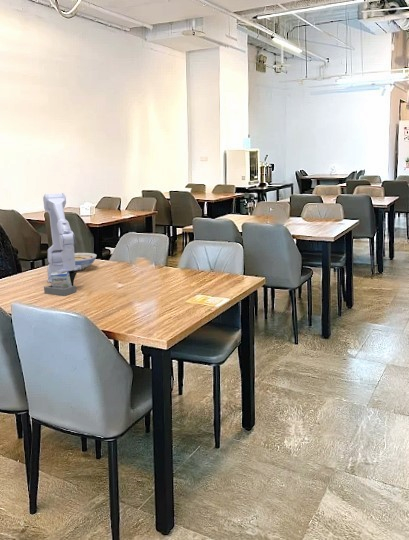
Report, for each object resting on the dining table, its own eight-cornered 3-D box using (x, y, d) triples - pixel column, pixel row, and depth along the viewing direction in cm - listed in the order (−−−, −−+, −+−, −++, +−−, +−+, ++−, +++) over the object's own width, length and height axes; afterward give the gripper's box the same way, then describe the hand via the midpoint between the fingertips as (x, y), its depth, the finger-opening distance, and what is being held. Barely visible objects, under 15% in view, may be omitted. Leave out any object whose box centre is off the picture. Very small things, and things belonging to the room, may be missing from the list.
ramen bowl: (92, 273, 283) (91, 258, 281) (49, 274, 283) (48, 259, 282) (101, 264, 307) (100, 250, 306) (62, 265, 308) (61, 251, 306)
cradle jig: (44, 293, 243) (44, 287, 242) (56, 289, 250) (56, 283, 249) (64, 296, 238) (64, 289, 237) (76, 291, 245) (76, 285, 244)
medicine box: (53, 292, 244) (49, 275, 241) (55, 289, 248) (51, 272, 245) (70, 290, 244) (66, 273, 241) (72, 287, 248) (68, 270, 245)
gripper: (64, 261, 238) (67, 291, 241) (85, 256, 251) (87, 284, 254) (52, 261, 242) (55, 289, 244) (73, 255, 254) (75, 283, 257)
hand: (70, 286), depth 249 cm, fingers closed
